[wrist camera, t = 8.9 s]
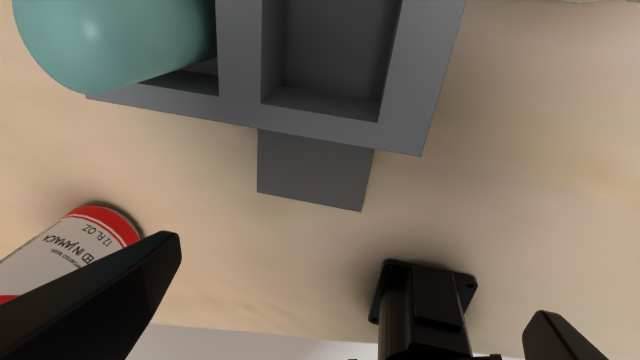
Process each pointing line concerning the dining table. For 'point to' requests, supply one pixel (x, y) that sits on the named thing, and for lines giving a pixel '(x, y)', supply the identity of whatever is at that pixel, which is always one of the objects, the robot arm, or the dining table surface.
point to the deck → (312, 169)
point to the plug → (115, 39)
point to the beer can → (65, 248)
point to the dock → (316, 70)
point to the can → (589, 0)
